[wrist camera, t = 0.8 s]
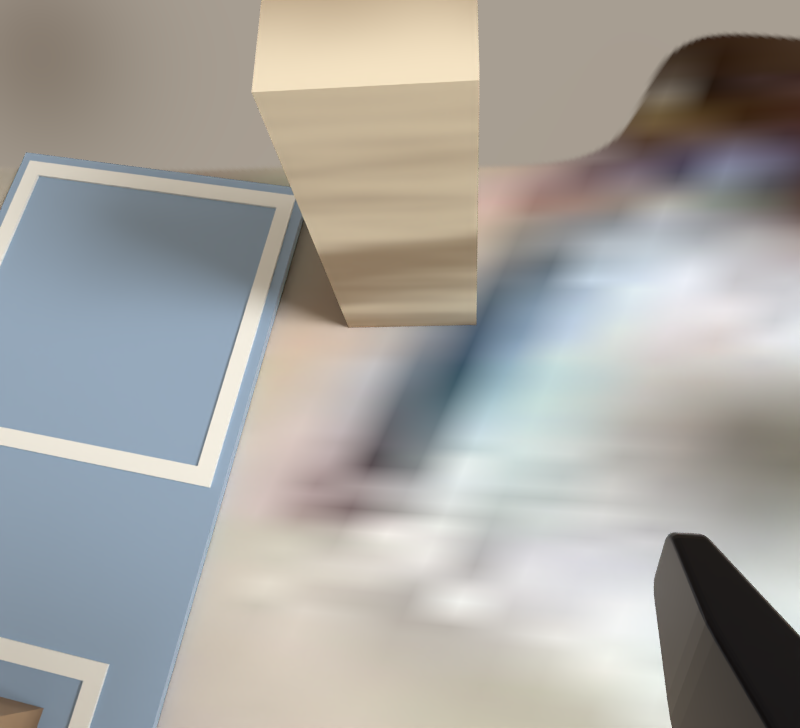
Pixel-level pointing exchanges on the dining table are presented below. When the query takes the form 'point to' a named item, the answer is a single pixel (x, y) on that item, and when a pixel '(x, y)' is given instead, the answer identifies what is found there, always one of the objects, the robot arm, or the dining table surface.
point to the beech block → (380, 148)
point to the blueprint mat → (121, 416)
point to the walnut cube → (18, 714)
